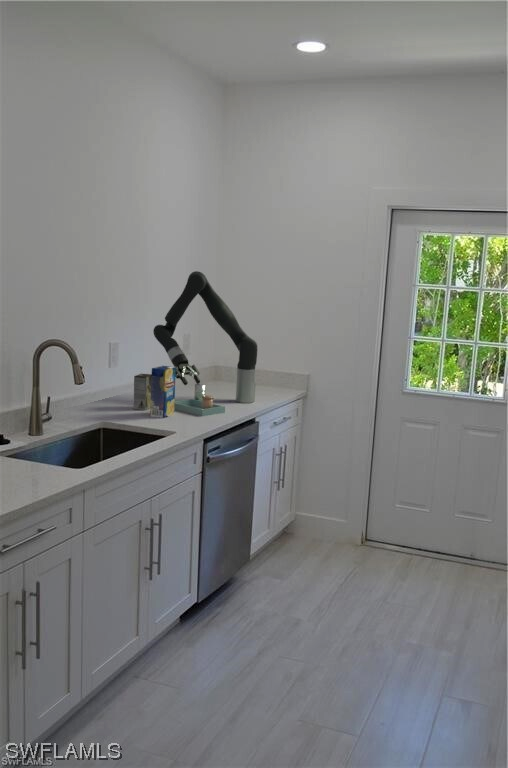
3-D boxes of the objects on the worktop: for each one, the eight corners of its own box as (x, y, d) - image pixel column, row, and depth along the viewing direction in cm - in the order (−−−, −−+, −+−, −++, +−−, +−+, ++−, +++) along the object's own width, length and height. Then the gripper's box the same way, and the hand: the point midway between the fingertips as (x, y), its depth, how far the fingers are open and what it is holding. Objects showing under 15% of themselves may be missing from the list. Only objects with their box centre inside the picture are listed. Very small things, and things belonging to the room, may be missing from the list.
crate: (192, 406, 366) (192, 399, 366) (224, 414, 352) (225, 406, 352) (169, 409, 355) (169, 402, 354) (202, 418, 341) (202, 409, 340)
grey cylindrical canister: (199, 405, 371) (200, 383, 369) (206, 407, 368) (208, 385, 366) (191, 406, 367) (192, 384, 365) (199, 408, 364) (200, 385, 362)
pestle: (206, 411, 353) (207, 394, 352) (215, 413, 350) (215, 396, 348) (198, 412, 349) (199, 396, 348) (207, 414, 346) (207, 397, 344)
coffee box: (139, 406, 360) (140, 373, 358) (152, 407, 359) (153, 374, 357) (132, 409, 352) (133, 375, 349) (145, 410, 350) (147, 376, 348)
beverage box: (174, 414, 346) (175, 367, 343) (163, 418, 336) (165, 369, 333) (160, 412, 348) (162, 365, 345) (149, 416, 338) (151, 368, 335)
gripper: (171, 353, 367) (186, 380, 362) (191, 352, 378) (206, 377, 372) (163, 363, 371) (178, 389, 366) (184, 361, 382) (199, 386, 376)
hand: (192, 383), depth 369 cm, fingers open, 8 cm apart
